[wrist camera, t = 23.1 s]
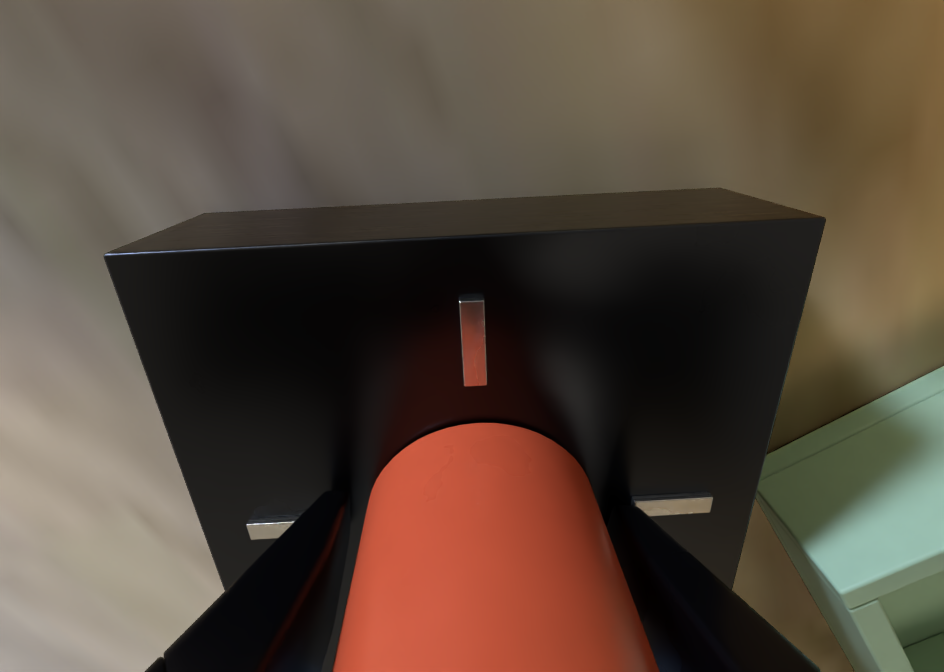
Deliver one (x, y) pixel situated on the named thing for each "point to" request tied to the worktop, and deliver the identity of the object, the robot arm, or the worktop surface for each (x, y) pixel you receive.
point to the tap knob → (488, 564)
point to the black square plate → (472, 350)
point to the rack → (870, 525)
